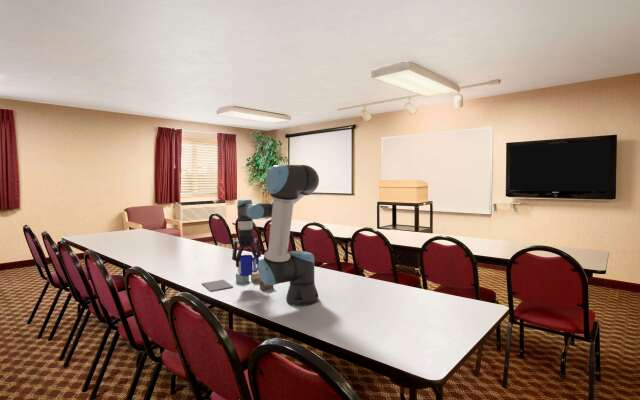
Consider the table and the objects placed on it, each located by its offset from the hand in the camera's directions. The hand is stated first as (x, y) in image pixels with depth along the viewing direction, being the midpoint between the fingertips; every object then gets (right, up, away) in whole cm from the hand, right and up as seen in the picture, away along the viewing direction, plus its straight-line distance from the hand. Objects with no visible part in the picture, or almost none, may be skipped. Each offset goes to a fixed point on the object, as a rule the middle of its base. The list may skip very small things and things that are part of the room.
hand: (247, 271), depth 189 cm
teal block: (-5, -8, +12) cm, 16 cm away
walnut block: (+10, -9, 0) cm, 13 cm away
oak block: (+2, -8, +14) cm, 16 cm away
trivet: (-17, -9, +5) cm, 20 cm away
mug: (+1, -2, 0) cm, 2 cm away
